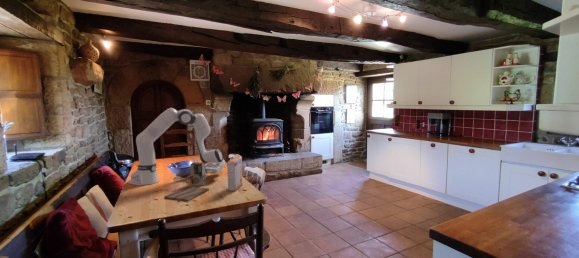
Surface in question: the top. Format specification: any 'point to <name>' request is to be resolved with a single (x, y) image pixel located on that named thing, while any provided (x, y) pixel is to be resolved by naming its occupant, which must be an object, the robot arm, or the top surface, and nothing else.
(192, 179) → the coffee box
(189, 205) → the top surface
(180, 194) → the walnut board
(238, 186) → the cracker box
